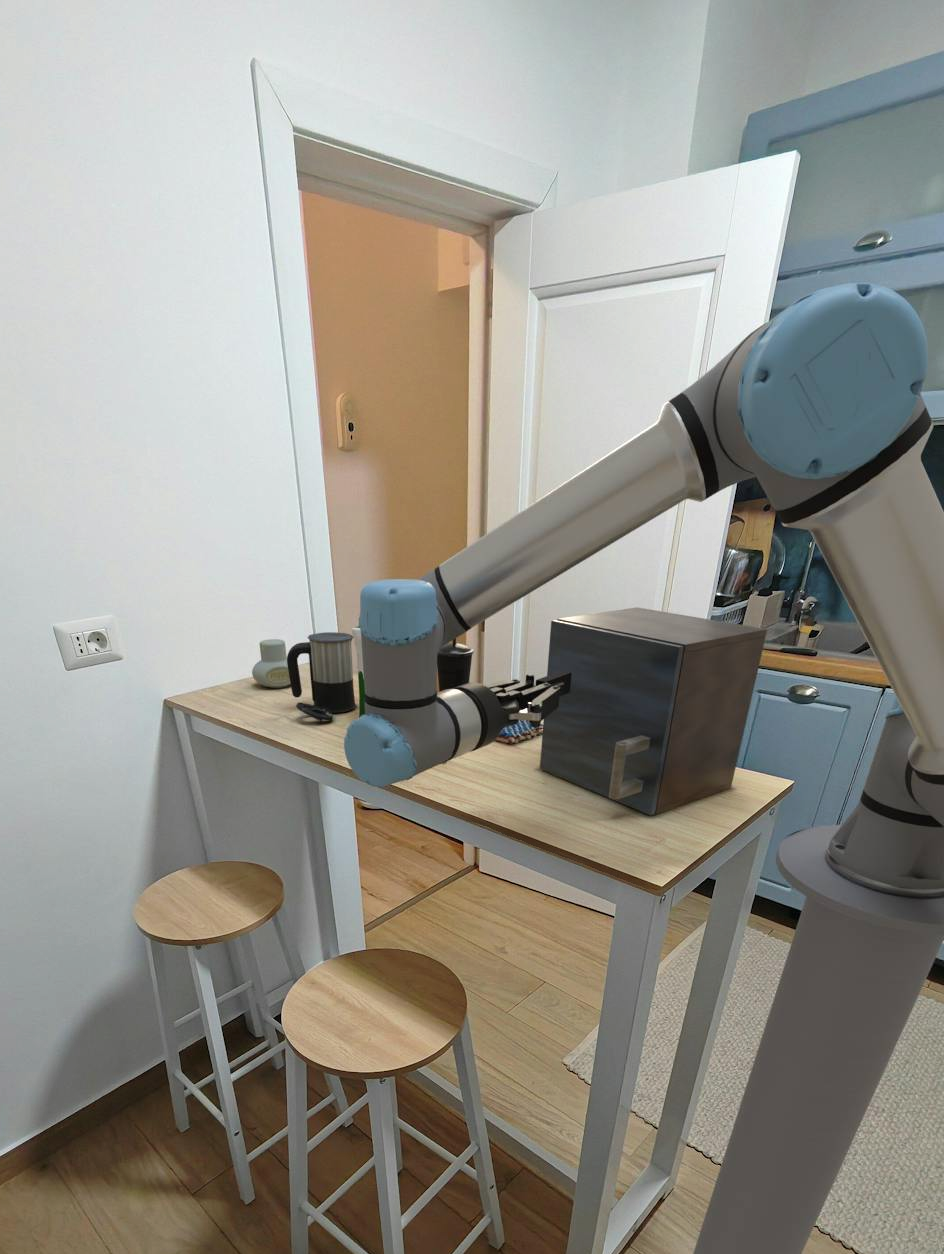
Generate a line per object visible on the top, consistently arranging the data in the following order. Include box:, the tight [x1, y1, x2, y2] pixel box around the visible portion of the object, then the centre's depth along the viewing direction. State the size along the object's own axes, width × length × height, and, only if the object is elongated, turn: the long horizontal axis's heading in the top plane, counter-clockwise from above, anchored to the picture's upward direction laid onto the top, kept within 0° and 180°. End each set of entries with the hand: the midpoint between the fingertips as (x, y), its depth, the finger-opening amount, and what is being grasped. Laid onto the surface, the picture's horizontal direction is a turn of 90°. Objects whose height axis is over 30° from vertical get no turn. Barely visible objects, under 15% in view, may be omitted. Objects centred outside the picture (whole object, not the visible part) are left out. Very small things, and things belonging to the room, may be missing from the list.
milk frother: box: [286, 631, 357, 723], centre depth 146 cm, size 14×16×15 cm
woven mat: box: [494, 720, 543, 744], centre depth 137 cm, size 10×11×2 cm
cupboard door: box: [539, 619, 684, 817], centre depth 105 cm, size 7×24×24 cm, turn 35°
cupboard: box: [556, 607, 768, 816], centre depth 111 cm, size 18×24×24 cm
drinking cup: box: [437, 638, 475, 692], centre depth 140 cm, size 8×8×20 cm
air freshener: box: [251, 638, 291, 689], centre depth 167 cm, size 11×8×10 cm
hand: (566, 681), depth 97 cm, fingers closed
